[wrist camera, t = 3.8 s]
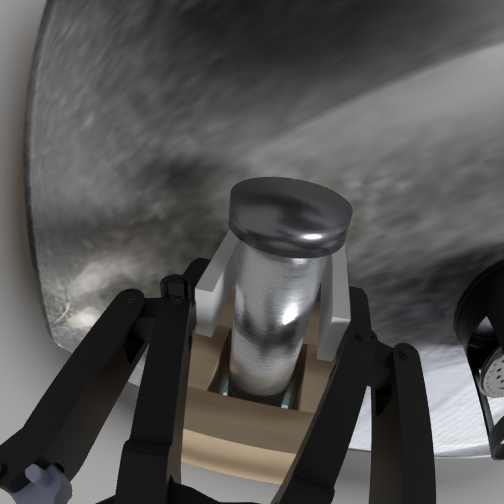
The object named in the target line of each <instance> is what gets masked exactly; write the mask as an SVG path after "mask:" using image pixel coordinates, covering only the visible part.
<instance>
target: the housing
mask: <svg viewBox="0 0 504 504" xmlns="http://www.w3.org/2000/svg"><path fill="white" fill-rule="evenodd" d="M235 293H236V285H235V284H234V286H233V288H232V290H231V293H230V295H229V297H228V300H227V302H226V305H225V307H224V309H223V312H222V314H221V316H220V319H219V321H218V324H217V326H216V328H215V331H214V333H213V335H212V337H208V336H204V335H200V334H196V327H195V329H194V331H193V333H192V334H193V342H192V350H191V359H190V368H189V377H188V386H187V396H186V407H185V417H184V429H183V441H182V454H181V461H183V462H186V463H189V464H192V465H196V466H199V467H203V468H207V469H210V470H214V471H218V472H222V473H226V474H230V475H234V476H239V477H243V478H248V479H253V480H258V481H264V482H270V483H276V484H282V482H283V480H284V478H285V476H286V474H287V472H288V470H289V468H290V466H291V464H292V462H293V460H294V458H295V456H296V454H297V452H298V450H299V448H300V446H301V443H302V441H303V439H304V437H305V435H306V432H307V430H308V428H309V426H310V423H311V421H312V419H313V417H314V414H315V412H316V409H317V407H318V405H319V402H320V400H321V397H322V395H323V392H324V390H325V387H326V385H327V382H328V380H329V375H330V373H331V371H332V369H333V367H334V365H335V363H336V356H335V358H334V360H333V362H330V361H324V360H318V359H317V350H318V336H319V320H320V301H315V304H314V308H313V311H312V314H311V318H310V321H309V324H308V328H307V331H306V334H305V337H304V340H303V344H302V347H301V350H300V353H299V356H298V359H297V362H296V365H295V368H294V371H293V374H292V377H291V380H290V383H289V386H288V389H287V391H286V393H289V394H290V398H289V404H288V409H286V408H280V407H275V406H270V405H265V404H260V403H255V402H251V401H246V400H242V399H237V398H233V397H229V396H225V395H222V392H223V389H224V386H225V383H226V380H229V367H230V354H231V341H232V329H233V317H234V304H235Z"/></svg>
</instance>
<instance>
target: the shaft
mask: <svg viewBox="0 0 504 504" xmlns="http://www.w3.org/2000/svg"><path fill="white" fill-rule="evenodd" d="M352 213H353V211H352V207H351V205H350V204H349V202H348V201H347V200H346V199H345V198H343V197H342V196H341V195H339V194H338V193H336V192H334V191H332V190H330V189H328V188H325V187H323V186H320V185H317V184H314V183H311V182H307V181H303V180H298V179H292V178H284V177H259V178H252V179H248V180H244V181H242V182H239V183H238V184H236V185H235V186H234V187H233V188H232V190H231V196H230V209H229V227H230V229H231V231H232V232H233V234H234V235H235V236H236V237H237V238H238V239H240V247H239V258H238V269H237V281H236V293H235V304H234V317H233V329H232V341H231V354H230V367H229V380H228V393H227V396H229V397H233V398H237V399H242V400H246V401H251V402H255V403H260V404H265V405H270V406H275V407H280V408H281V405H282V403H283V400H284V397H285V394H286V391H287V389H288V386H289V383H290V380H291V377H292V374H293V371H294V368H295V365H296V362H297V359H298V356H299V353H300V350H301V347H302V344H303V340H304V337H305V334H306V331H307V328H308V324H309V321H310V318H311V314H312V311H313V308H314V304H315V301H316V297H317V294H318V290H319V287H320V283H321V280H322V276H323V272H324V269H325V265H326V261H327V257H328V255H331V254H333V253H335V252H337V251H338V250H340V249H341V248H342V246H343V245H344V243H345V239H346V236H347V232H348V228H349V224H350V220H351V217H352Z"/></svg>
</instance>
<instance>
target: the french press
mask: <svg viewBox="0 0 504 504" xmlns="http://www.w3.org/2000/svg"><path fill="white" fill-rule="evenodd" d="M486 316H487V317H488V319H489V321H490V323H491V325H492V327H493V330H494V332H495V334H496V336H494V337H488V338H483V337H478V336H475V335H474V332H475V331H476V329H477V327H478V326H479V324H480V323H481V322H482V320H483V319H484V318H485V317H486ZM454 330H455V332H456V335H457V338H458V339H459V340H460V341H461V343H462V345H463V348H464V351H465V353H466V356H467V360H468V363H469V366H470V369H471V372H472V376H473V379H474V382H475V386H476V389H477V393H478V397H479V401H480V405H481V409H482V413H483V417H484V421H485V426H486V430H487V435H488V440H489V446H490V451H491V457H492V458H493V459H494V460H504V444H500V443H501V442H502V441H503V440H504V416H503V417H502V418H501V419H500V420H499V421H498V422H497V424H496V425H495V426H494V423H493V419H492V415H491V411H490V407H489V403H488V400H487V397H492V398H498V397H504V260H502V261H500V262H498V263H495V264H494V265H492V266H491V267H489V268H487V269H486V270H485V271H484V272H482V273H481V274H480V275H479V276H478V277H477V278H476V279H475V280H474V281H473V282H472V283H471V284H470V285H469V286H468V288H467V289H466V291H465V292H464V293H463V295H462V297H461V299H460V300H459V302H458V305H457V308H456V310H455V315H454ZM479 370H481V373H479Z"/></svg>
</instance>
